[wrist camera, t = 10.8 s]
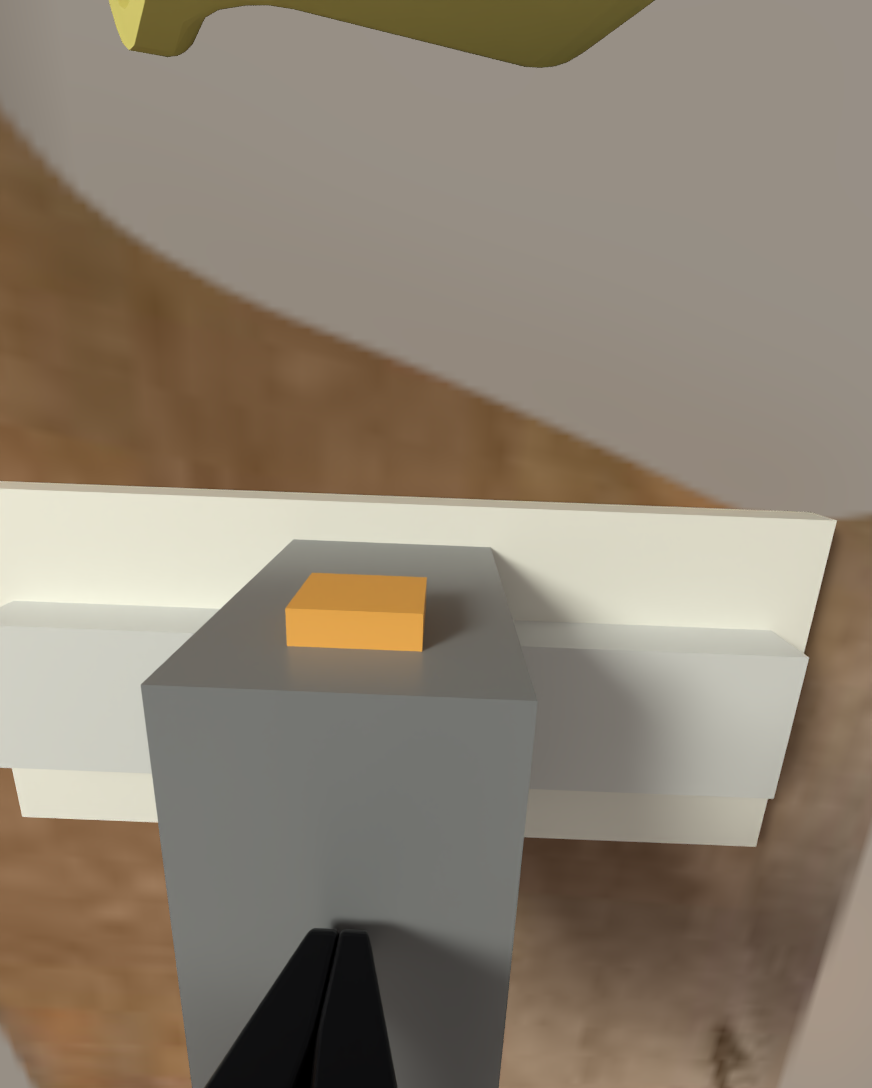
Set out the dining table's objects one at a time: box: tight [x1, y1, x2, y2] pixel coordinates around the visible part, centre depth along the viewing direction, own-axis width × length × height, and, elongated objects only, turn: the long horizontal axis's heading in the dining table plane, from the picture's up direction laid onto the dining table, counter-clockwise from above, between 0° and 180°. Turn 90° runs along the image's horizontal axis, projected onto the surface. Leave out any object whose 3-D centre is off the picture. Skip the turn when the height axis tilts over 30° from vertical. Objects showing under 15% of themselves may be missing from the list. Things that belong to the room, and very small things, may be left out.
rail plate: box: [0, 481, 837, 847], centre depth 14 cm, size 10×22×2 cm, turn 88°
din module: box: [141, 539, 538, 1088], centre depth 11 cm, size 9×5×7 cm, turn 178°
